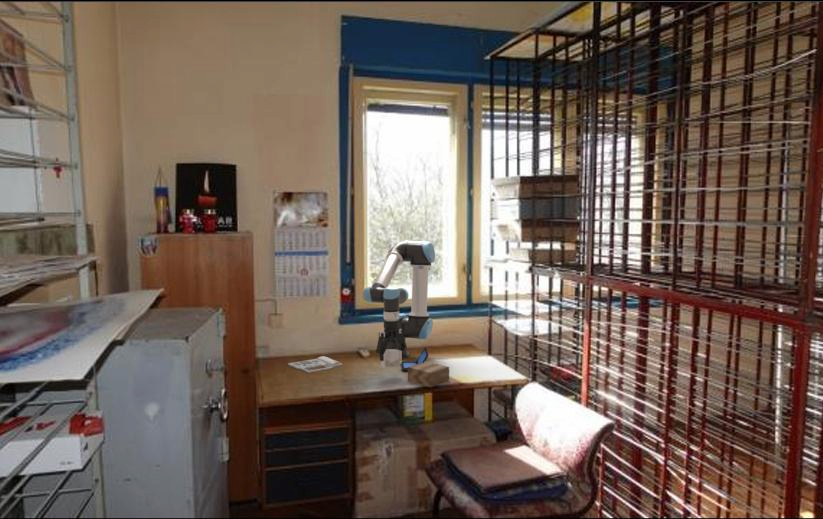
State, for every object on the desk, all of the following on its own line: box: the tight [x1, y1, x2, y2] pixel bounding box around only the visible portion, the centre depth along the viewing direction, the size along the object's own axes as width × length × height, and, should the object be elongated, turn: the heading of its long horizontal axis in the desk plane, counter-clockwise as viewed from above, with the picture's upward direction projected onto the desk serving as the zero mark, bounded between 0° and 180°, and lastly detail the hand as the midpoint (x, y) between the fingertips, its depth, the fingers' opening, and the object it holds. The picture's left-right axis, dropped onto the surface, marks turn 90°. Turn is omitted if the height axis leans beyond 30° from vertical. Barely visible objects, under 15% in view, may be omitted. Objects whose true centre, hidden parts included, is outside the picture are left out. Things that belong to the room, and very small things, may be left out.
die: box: [384, 349, 400, 368], centre depth 259 cm, size 8×9×10 cm
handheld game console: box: [400, 347, 429, 373], centre depth 277 cm, size 16×13×9 cm
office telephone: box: [287, 356, 343, 374], centre depth 280 cm, size 23×3×20 cm
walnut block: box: [407, 360, 450, 388], centre depth 255 cm, size 14×14×7 cm
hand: (391, 365), depth 260 cm, fingers closed on die, 9 cm apart
